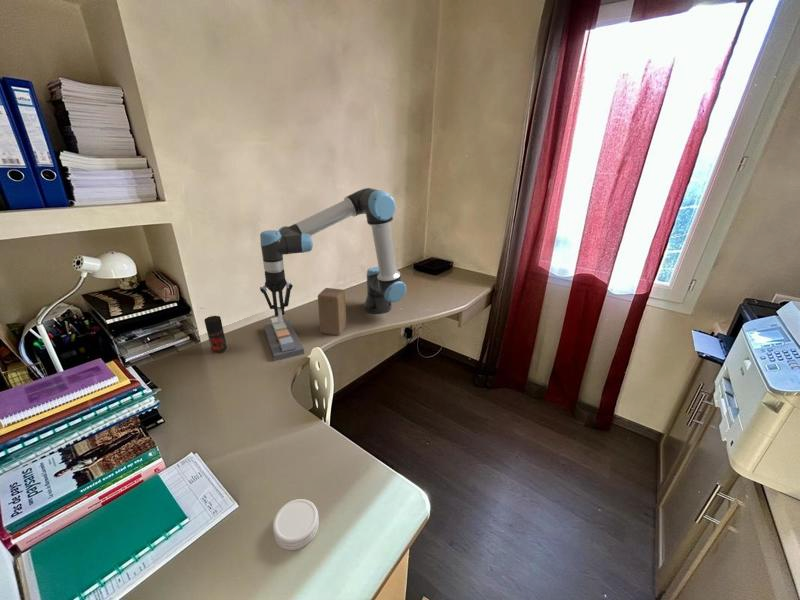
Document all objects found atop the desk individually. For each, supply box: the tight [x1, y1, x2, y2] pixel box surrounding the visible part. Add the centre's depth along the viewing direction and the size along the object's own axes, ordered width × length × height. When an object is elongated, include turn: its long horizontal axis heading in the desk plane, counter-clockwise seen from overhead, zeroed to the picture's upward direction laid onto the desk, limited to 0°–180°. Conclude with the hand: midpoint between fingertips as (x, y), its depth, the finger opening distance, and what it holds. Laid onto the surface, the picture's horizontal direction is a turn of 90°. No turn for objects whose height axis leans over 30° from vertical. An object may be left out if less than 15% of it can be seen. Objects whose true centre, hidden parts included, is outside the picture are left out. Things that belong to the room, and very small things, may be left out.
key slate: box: [279, 336, 294, 352], centre depth 142 cm, size 5×5×4 cm
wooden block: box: [317, 287, 347, 336], centre depth 159 cm, size 10×10×20 cm
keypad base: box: [263, 319, 305, 361], centre depth 152 cm, size 12×29×2 cm, turn 28°
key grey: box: [270, 316, 285, 330], centre depth 159 cm, size 5×5×4 cm
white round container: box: [272, 498, 320, 551], centre depth 78 cm, size 10×10×4 cm
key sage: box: [273, 322, 287, 337], centre depth 154 cm, size 5×5×4 cm
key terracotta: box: [276, 329, 290, 344], centre depth 148 cm, size 5×5×4 cm
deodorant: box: [204, 315, 228, 354], centre depth 142 cm, size 6×6×15 cm
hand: (280, 321), depth 145 cm, fingers closed
